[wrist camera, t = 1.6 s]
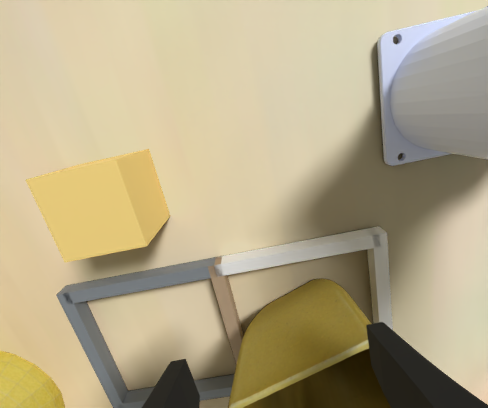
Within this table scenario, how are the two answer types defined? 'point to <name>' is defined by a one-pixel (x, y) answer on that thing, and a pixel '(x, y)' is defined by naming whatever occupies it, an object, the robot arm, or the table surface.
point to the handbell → (26, 385)
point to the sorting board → (217, 269)
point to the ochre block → (102, 205)
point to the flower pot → (307, 354)
